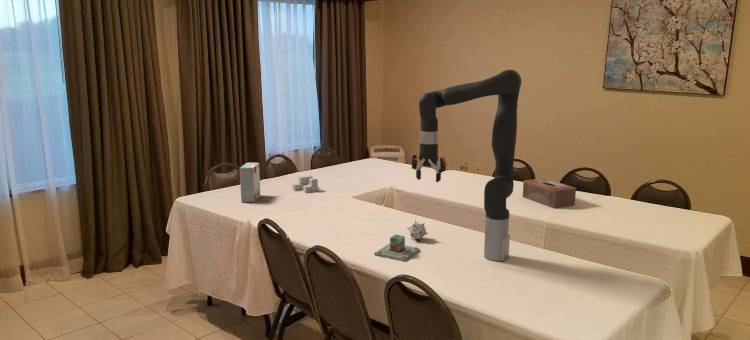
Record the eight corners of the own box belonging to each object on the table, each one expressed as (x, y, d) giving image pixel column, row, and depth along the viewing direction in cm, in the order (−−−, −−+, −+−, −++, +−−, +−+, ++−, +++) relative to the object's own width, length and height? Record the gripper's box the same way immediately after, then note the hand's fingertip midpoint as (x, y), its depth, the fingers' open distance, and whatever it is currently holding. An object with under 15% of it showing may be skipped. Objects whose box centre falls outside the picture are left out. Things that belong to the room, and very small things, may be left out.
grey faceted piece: (416, 248, 239) (407, 235, 233) (410, 236, 246) (401, 222, 240) (433, 239, 239) (425, 225, 233) (427, 227, 246) (419, 213, 240)
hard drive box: (254, 202, 300) (252, 167, 296) (241, 202, 301) (238, 167, 296) (260, 195, 316) (259, 162, 311) (248, 195, 316) (246, 162, 311)
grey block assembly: (292, 189, 328) (291, 177, 327) (310, 187, 334) (310, 175, 332) (299, 194, 318) (298, 181, 316) (318, 191, 324) (317, 178, 322)
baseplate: (419, 250, 227) (419, 247, 226) (404, 261, 215) (404, 257, 215) (390, 244, 234) (390, 241, 234) (374, 255, 222) (374, 251, 222)
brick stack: (404, 249, 225) (404, 236, 224) (399, 253, 221) (399, 239, 220) (395, 247, 227) (395, 234, 226) (390, 251, 223) (390, 237, 222)
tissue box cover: (574, 205, 292) (576, 188, 290) (554, 209, 286) (555, 190, 284) (542, 194, 315) (543, 178, 313) (522, 197, 309) (523, 180, 307)
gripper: (448, 141, 218) (447, 180, 221) (417, 139, 225) (416, 176, 229) (441, 144, 212) (440, 184, 215) (409, 141, 219) (408, 180, 222)
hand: (428, 180), depth 222 cm, fingers open, 8 cm apart
